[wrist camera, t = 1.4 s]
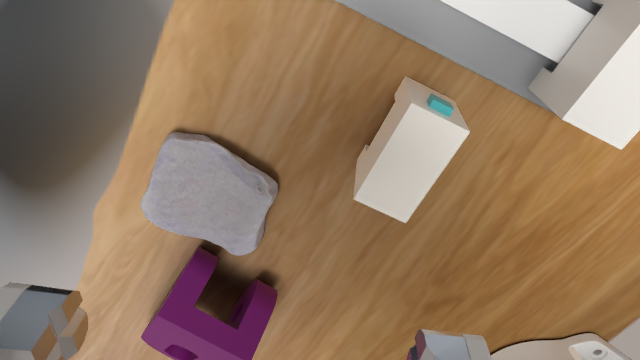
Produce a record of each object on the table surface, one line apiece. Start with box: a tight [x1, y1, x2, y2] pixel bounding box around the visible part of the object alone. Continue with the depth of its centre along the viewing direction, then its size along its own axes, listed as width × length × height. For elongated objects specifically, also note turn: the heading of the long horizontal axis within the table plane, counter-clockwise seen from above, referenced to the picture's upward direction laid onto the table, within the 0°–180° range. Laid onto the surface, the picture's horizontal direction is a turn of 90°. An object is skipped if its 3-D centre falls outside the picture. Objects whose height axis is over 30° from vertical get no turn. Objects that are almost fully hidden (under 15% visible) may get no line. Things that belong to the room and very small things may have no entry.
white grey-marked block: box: [528, 0, 640, 150], centre depth 27 cm, size 4×9×7 cm, turn 155°
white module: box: [354, 76, 470, 223], centre depth 33 cm, size 4×9×7 cm, turn 155°
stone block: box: [140, 132, 278, 256], centre depth 40 cm, size 12×5×10 cm
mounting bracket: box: [141, 246, 277, 360], centre depth 47 cm, size 10×8×18 cm
